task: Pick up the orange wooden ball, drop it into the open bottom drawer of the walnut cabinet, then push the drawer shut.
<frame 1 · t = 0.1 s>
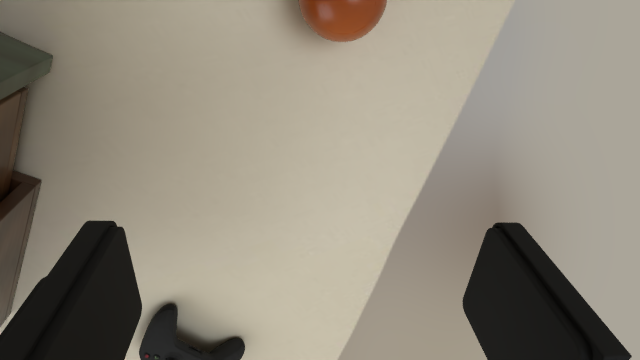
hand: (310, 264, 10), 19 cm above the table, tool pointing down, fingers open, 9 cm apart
game controller: (191, 334, 40), on the table
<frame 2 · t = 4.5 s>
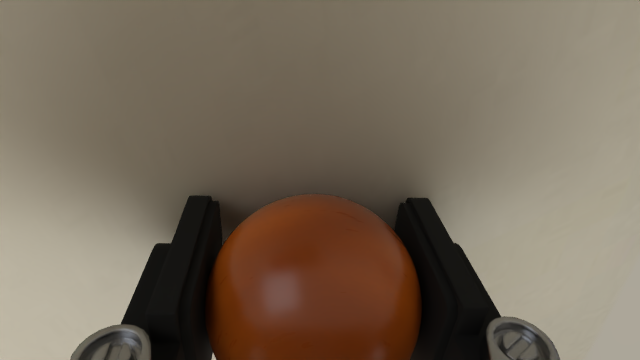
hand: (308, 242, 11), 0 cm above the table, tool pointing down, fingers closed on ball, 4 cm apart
ball: (308, 232, 12), on the table, touching gripper
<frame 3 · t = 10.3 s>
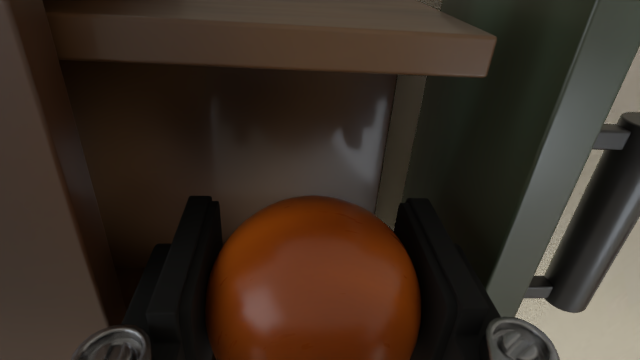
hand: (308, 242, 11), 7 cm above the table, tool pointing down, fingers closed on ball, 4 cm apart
ball: (308, 233, 12), point 6 cm above the table, touching gripper
drawer: (330, 201, 13), point 5 cm above the table, slide at 9.0 cm
when the fingers open (7 cm above the table, at t = 15.9 s): ball drops 4 cm and tips over, resting on drawer.
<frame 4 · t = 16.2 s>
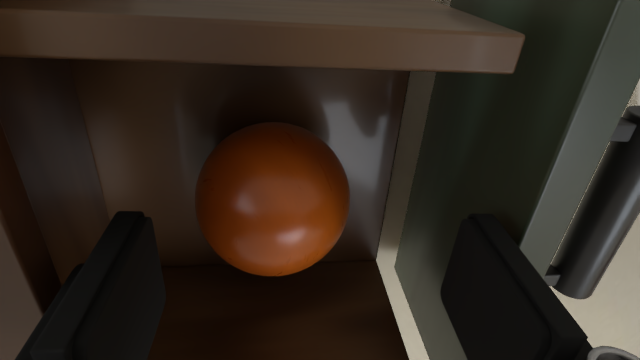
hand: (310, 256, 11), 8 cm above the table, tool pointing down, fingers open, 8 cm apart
ball: (320, 171, 15), point 3 cm above the table, tilted 44°, touching drawer
drawer: (348, 197, 13), point 5 cm above the table, slide at 11.1 cm, touching ball, gripper
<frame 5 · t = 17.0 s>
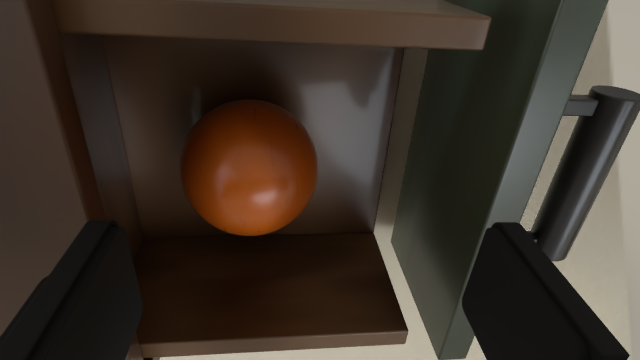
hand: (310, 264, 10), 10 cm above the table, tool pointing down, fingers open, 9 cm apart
ball: (312, 158, 16), point 4 cm above the table, tilted 71°, touching drawer
drawer: (348, 167, 15), point 5 cm above the table, slide at 11.0 cm, touching ball
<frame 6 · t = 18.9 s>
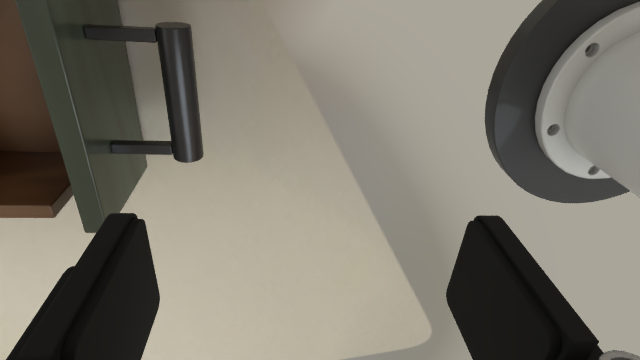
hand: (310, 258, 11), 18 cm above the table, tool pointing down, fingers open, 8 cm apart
drawer: (7, 84, 20), point 5 cm above the table, slide at 11.0 cm, touching ball
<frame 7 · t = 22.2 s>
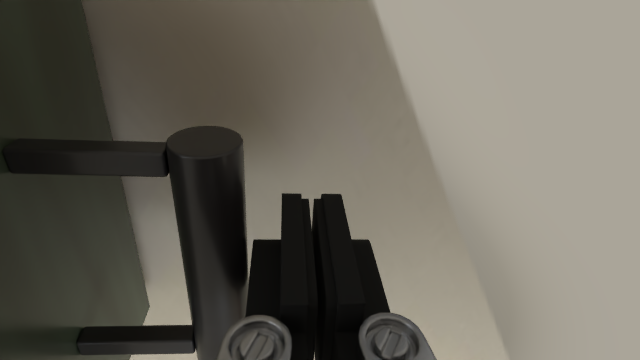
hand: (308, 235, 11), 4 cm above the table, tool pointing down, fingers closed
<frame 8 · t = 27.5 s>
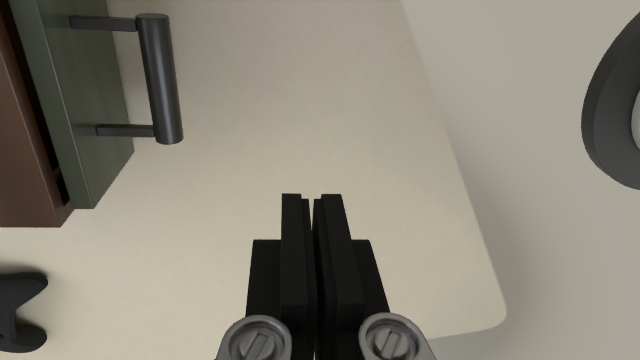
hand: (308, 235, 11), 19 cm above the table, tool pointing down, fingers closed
drawer: (1, 71, 22), point 5 cm above the table, slide at 0.3 cm, touching ball
game controller: (13, 298, 37), on the table
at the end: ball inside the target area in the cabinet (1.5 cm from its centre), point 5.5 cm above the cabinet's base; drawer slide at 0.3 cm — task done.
